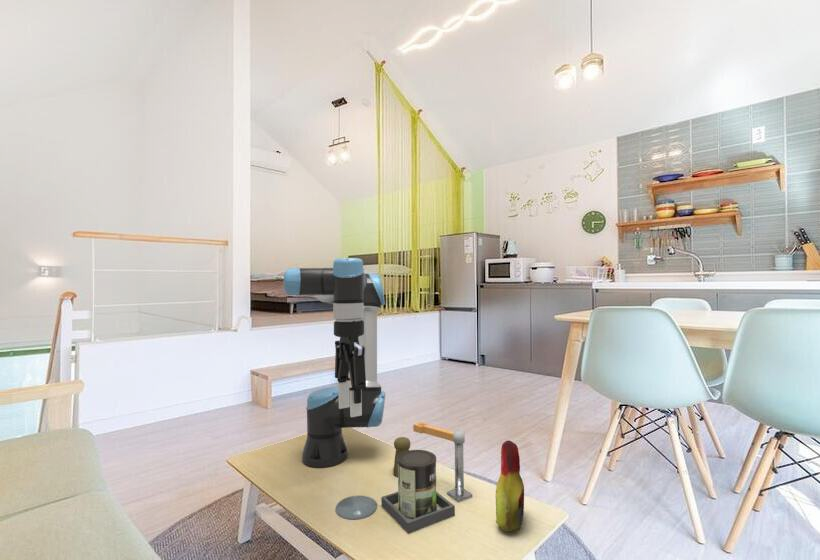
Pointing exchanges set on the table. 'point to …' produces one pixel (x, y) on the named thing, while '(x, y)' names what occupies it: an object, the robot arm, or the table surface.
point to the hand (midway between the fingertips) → (350, 411)
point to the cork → (400, 451)
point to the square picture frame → (421, 521)
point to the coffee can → (416, 483)
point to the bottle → (509, 489)
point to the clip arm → (440, 432)
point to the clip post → (459, 477)
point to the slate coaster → (356, 507)
